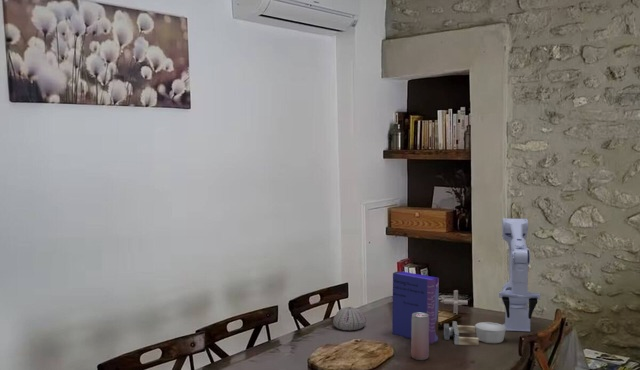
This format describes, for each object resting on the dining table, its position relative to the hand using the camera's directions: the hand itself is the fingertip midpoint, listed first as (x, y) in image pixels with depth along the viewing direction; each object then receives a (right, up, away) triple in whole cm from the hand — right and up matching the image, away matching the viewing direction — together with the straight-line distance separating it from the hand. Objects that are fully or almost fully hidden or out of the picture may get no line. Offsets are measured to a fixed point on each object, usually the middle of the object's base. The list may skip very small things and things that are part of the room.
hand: (518, 317), depth 228 cm
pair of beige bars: (-18, -9, +4) cm, 20 cm away
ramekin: (-10, -9, +3) cm, 14 cm away
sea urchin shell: (-62, -8, +18) cm, 65 cm away
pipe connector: (-15, -7, +38) cm, 41 cm away
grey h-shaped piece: (-24, -9, +5) cm, 26 cm away
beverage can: (-39, -10, -17) cm, 44 cm away
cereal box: (-38, -9, +5) cm, 39 cm away
